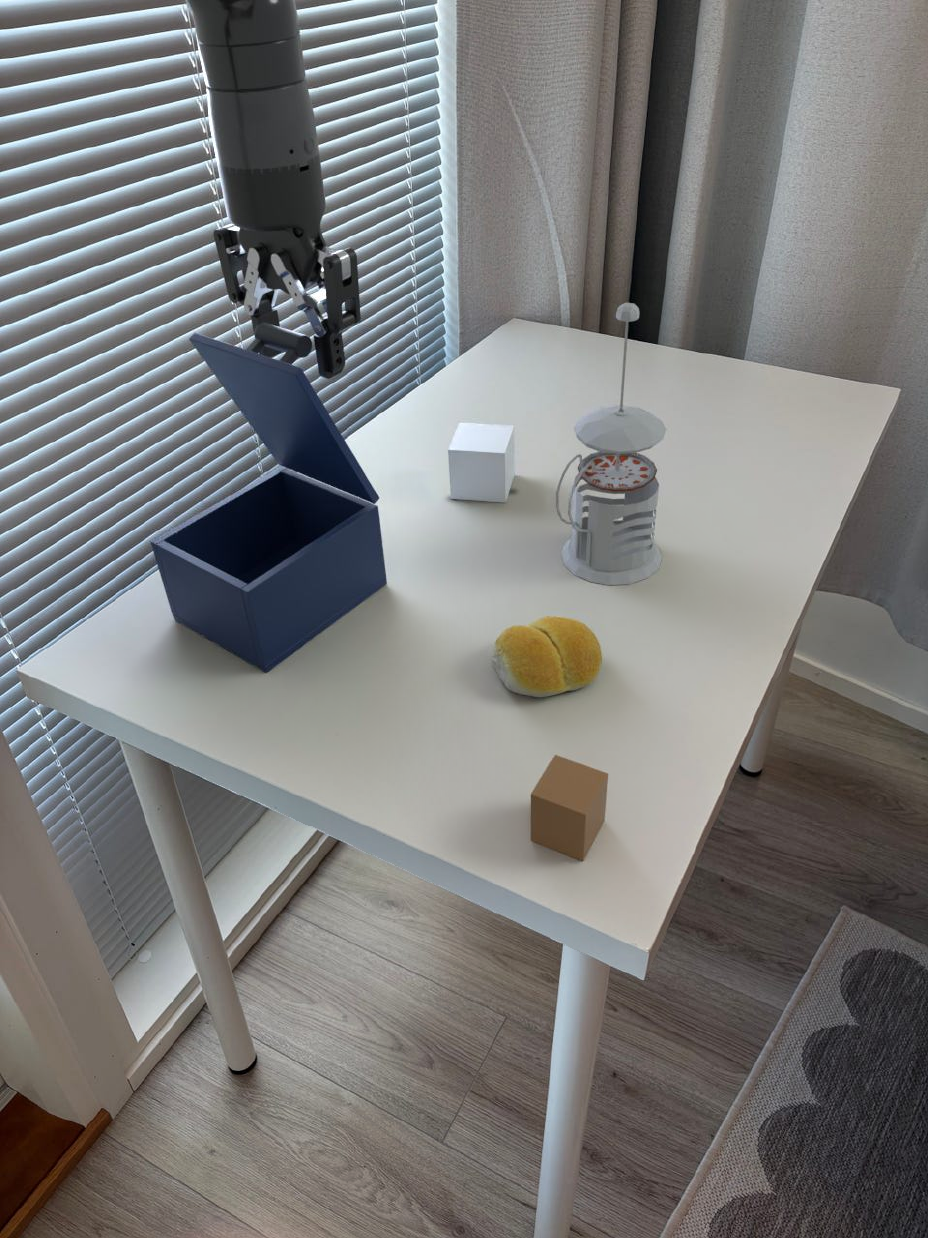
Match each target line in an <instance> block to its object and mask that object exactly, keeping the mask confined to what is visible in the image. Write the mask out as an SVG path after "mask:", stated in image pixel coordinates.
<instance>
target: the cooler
mask: <svg viewBox="0 0 928 1238" xmlns="http://www.w3.org/2000/svg"><path fill="white" fill-rule="evenodd" d="M379 512H380V511H379V506H378V504H377V505H376V503H375V504H373V503H371V502H368V501H366V500H363V499H361V498H359V497H356V496H354V495H351V494H349V493H347V492H344V491H342V490H339V489H337V488H334V487H332V486H330V485H327V484H325V483H322V482H320V481H317V480H315V479H313V478H310V477H308V476H305V475H303V474H301V473H298V472H296V471H293V470H291V469H288V468H286V467H284V466H281V465H280V466H279V467H278V468H275V469H274V470H272V471H271V472H269V473H267V474H265V475H264V476H262V477H259V479H256V480H255V481H253V482H252V483H250V484H248V485H246V486H245V487H242V488H241V489H239V490H237V491H236V492H234V493H232V494H230V495H229V496H227V497H226V498H223V499H221V500H220V501H218V502H217V503H215V504H213V505H212V506H210V507H208V508H206V509H204V510H202V511H201V512H199V513H197V514H196V515H194V516H192V517H191V518H189V519H187V520H186V521H183V522H182V523H180V524H178V525H177V526H175V527H173V528H171V529H170V530H168V531H166V532H164V533H163V534H161V535H159V536H157V537H156V538H154V539H152V540H151V541H150V545H151V549H152V552H153V555H154V559H155V562H156V565H157V568H158V572H159V575H160V578H161V582H162V585H163V589H164V591H165V594H166V598H167V601H168V604H169V608H170V611H171V614H172V617H173V620H174V621H176V622H177V623H179V624H181V625H182V626H184V627H186V628H188V629H189V630H191V631H193V632H194V633H197V634H198V635H199V636H202V637H203V638H204V639H207V640H208V641H210V642H212V643H213V644H216V645H217V646H219V647H221V648H222V649H223V650H225V651H227V652H230V653H231V654H233V655H234V656H236V657H238V658H240V659H241V660H243V661H244V662H246V663H248V664H249V665H252V666H254V667H255V668H257V669H259V670H260V671H262V672H264V673H266V674H267V673H268V672H270V671H271V670H273V669H274V668H275V667H276V666H278V665H280V664H281V663H283V662H284V661H285V660H286V659H287V658H289V657H290V656H291V655H293V654H294V653H295V652H297V651H298V650H299V649H301V648H303V646H305V645H306V644H307V643H309V642H310V641H312V640H313V639H314V638H316V637H318V635H320V634H321V633H322V632H324V631H325V630H327V629H328V628H330V627H331V626H332V625H333V624H335V623H336V622H337V621H338V620H340V619H341V618H343V617H344V616H345V615H346V614H348V613H350V611H353V609H355V608H356V607H358V606H359V605H360V604H361V603H363V602H364V601H366V600H367V599H368V598H370V597H371V596H372V595H374V594H375V593H376V592H378V591H379V590H380V589H382V588H383V587H384V586H386V585H387V584H388V581H387V571H386V564H385V555H384V547H383V538H382V529H381V521H380V513H379Z"/></svg>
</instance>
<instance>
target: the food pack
mask: <svg viewBox="0 0 928 1238" xmlns="http://www.w3.org/2000/svg"><path fill="white" fill-rule="evenodd" d="M608 783H609V773H608V772H606V771H602V770H601V769H597V768H594V767H591V766H589V765H585V764H583V763H580V762H577V761H575V760H571V759H568V758H565V757H563V756H560V755H557V754H554V755H553V757H552V759H551V760H550V761H549V763H548V765H547V767H546V768H545V770H544V771H543V773H542V775H541V776H540V778H539V780H538V781H537V783H536V785H535V786H534V788H533V790H532V791H531V792H530V841H531V842H533V843H536V844H538V845H541V846H543V847H545V848H548V849H550V850H553V851H555V852H558V853H560V854H563V855H566V856H569V857H571V858H573V859H576V860H577V861H581V862H584V861H585V859H586V857H587V855H588V853H589V851H590V850H591V847H592V845H593V843H594V842H595V839H596V838H597V836H598V834H599V832H600V830H601V829H602V826H603V825H604V823H605V821H606V810H607V809H606V808H607V807H606V806H607V795H608Z"/></svg>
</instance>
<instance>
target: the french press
mask: <svg viewBox="0 0 928 1238" xmlns="http://www.w3.org/2000/svg"><path fill="white" fill-rule="evenodd" d="M615 318H616V320H618V321H620V322H625V328H624V329H625V330H624V345H623V360H622V372H621V373H622V374H621V385H620V386H621V387H620V388H621V390H620V404H618V405H609V406H601V407H598V408H596V409H594V410H592V411H589V412H587V413H586V414H584V415H583V416H581V417H580V418H578V419H577V420H576V422H575V424H574V425H573V431H574V433H575V436H576V439H577V440H578V441H579V442H580V443H581V444H583V445H584V446H585V447H586V448H589V449H592V450H594V451H596V452H591V453H590V454H588V455H587V456H585V457H583V456H582V454H580V453H579V454H575V456H574V457H572V458H571V460H570V461H568V463H567V464H566V466H565V468H564V470H563V471H562V473H561V476H560V477H559V478H560V479H559V481H558V485H557V487H556V491H555V509H556V514H557V516H558V518H559V520H560V521H561V522H563V523H564V524H566V525H571V528H572V529H571V537H570V538H569V539H567V540H566V541H565V542H564V544H563V547H562V549H561V551H560V554H561V559H562V564H563V565H564V566H565V567H566V568H567V570H569V571H570V572H571V573H572V574H573V575H574V576H576V577H579V578H581V579H583V580H585V581H587V582H589V583H594V584H601V585H606V586H620V585H621V586H622V585H632V584H635V583H638V582H641V581H643V580H645V579H648V578H650V577H651V576H652V575H653V574H654V573H655V572H657V571H658V570H659V569H660V567H661V563H662V560H663V555H662V552H661V549H660V548H659V545H658V544H657V543H655V542H654V539H655V530H656V519H657V507H658V501H659V491H660V483H659V481H658V479H657V476H656V475H657V472H658V469H657V467H656V465H655V462H654V461H653V460H652V459H650V458H648V456H646V455H643V454H642V453H639V452H643V451H647V450H650V449H652V448H653V447H655V446H656V445H657V444H659V443H660V442H661V441H663V440H664V438H665V436H666V432H667V427H666V425H665V424H664V422H663V420H662V419H660V418H659V417H658V416H656V415H655V414H653V413H651V412H650V411H647V410H645V409H643V408H640V407H639V406H637V407H636V406H630V405H624V393H625V378H626V366H627V365H626V363H627V350H628V349H627V348H628V334H629V322H630V323H631V322H635V321H638V320H639V318H640V308H639V307H638V306H637V305H636V303H631V302H624V303H622V304H621V305H619V306H618V307H617V310H616V313H615ZM578 458H579V460H578V461H579V464H578V466H577V471H578V473H577V474H576V475H575V477H574V481H573V484H572V486H571V489H570V492H569V496H568V501H567V515H568V519H569V520H566V519H565V518H563V515H562V513H561V510H560V496H559V494H560V489H561V485H562V482H563V480H564V478H565V475H566V473H567V472H568V470H569V468H570V467H571V464H573V463H574V462H575V461H576V459H578ZM582 480H583V481H584V482H585V483H583V484H581V485H579V483H580V481H582ZM578 485H579V486H578ZM577 487H578V488H577ZM586 490H587V491H593V492H598V493H603V494H611V495H624V498H608V497H602V496H595V495H590V494H584V495H583V494H582V493H581V492H585V491H586ZM572 499H573V501H572ZM584 502H588V505H584ZM584 513H587V516H584V517H583V514H584ZM621 518H622V520H619V519H621Z"/></svg>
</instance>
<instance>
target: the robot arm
mask: <svg viewBox="0 0 928 1238" xmlns="http://www.w3.org/2000/svg"><path fill="white" fill-rule="evenodd" d="M184 1H185V3H186V6H187V7H188V9H189V12H190V14H191V18H192V21H193V25H194V28H195V29H194V31H195V36H196V41H197V47H198V53H199V58H200V62H201V67H202V73H203V74H202V75H203V78H204V83H205V89H206V97H207V110H208V112H207V113H208V121H209V122H208V123H209V130H210V133H211V139H212V144H213V149H214V154H215V155H214V156H215V159H216V166H217V171H218V176H219V181H220V185H221V186H220V187H221V192H222V197H223V201H224V207H225V211H226V216H227V219H228V221H229V222H230V224H227V225H225V226H224V225H223V226H222V227H219V228H216V229H214V230H213V232H212V233H213V239H214V243H215V247H216V252H217V256H218V259H219V262H220V263H219V264H220V267H221V271H222V276H223V279H224V280H223V281H224V284H225V287H226V288H225V289H226V292H227V295H228V298H229V301H231V303H233V304H234V305H236V304H237V303H240V304H241V305H242V306H243V309H244V311H245V312H246V314H247V315H249V316H250V320H251V325H252V330H253V331H252V332H253V335H254V337H255V330H256V327H257V326H258V325H259V324H260V323H268V324H271V325H274V326H278V327H281V323H280V318H279V312H278V309H277V308H274V306H275V305H276V301H277V298H278V293H279V290H280V291H282V292H284V293H285V294H287V295H290V297H291V299H292V301H293V303H294V305H295V307H296V308H297V310H299V311H301V312H304V314H305V316H306V318H307V320H308V321H309V323H310V325H311V327H312V330H313V331H314V333H315V334H313V343H314V348H315V357H316V362H317V369H318V375H319V376H320V378H324V379H326V380H330V379H332V378H334V377H336V376H338V375H340V374H341V373H343V371H344V368H345V367H346V356H345V348H344V340H343V331H346V330H347V329H349V328H351V327H354V326H356V325H358V324H360V323H361V320H362V318H361V317H362V315H361V299H360V287H359V286H360V285H359V268H358V256H357V252H356V251H355V249H353V248H352V247H347V248H344V249H340V250H339V249H335V248H333V247H329V246H328V244H327V241H326V240H325V237H324V235H323V233H322V230H321V223H322V220H323V217H324V215H325V213H326V210H327V202H326V195H325V186H324V178H323V171H322V162H321V155H320V149H319V141H318V133H317V126H316V125H317V123H316V117H315V111H314V107H313V103H312V98H311V96H310V91H309V87H308V83H307V77H306V75H307V74H306V68H305V60H304V53H303V52H304V51H303V46H302V45H303V44H302V36H301V31H300V30H301V29H300V23H299V15H298V9H297V5H296V1H295V0H184ZM240 272H241V274H242V278H243V281H244V282H243V283H241V284H240V283H239V277H238V273H240ZM316 284H317V287H318V291H316V292H314V293H311V294H309V293H307V291H308V290H310V289H312V288H313V287H314V286H315V285H316ZM318 304H321V305H322V307H323V309H324V310H325V313H326V315H327V316H325V317H324V316H323V314H322V312H321V310H320V308H319V305H318ZM343 304H344V311H343ZM258 354H261V355H264V356H267V357H270V358H273V357H275V356H278V355H279V354H282V351H279V350H276V349H273V348H270V347H267V346H264V347H263V349H262V350H261V351H260V352H259V353H258Z"/></svg>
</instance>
